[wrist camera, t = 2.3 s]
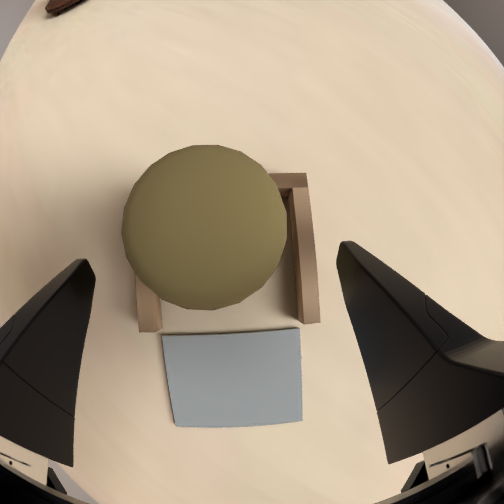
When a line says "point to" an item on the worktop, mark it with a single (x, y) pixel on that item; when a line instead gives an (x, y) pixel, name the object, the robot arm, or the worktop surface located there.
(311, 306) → the u-shaped wooden frame
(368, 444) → the worktop surface
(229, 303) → the cork
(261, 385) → the pad
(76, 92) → the worktop surface
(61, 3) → the brown figurine
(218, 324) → the worktop surface
